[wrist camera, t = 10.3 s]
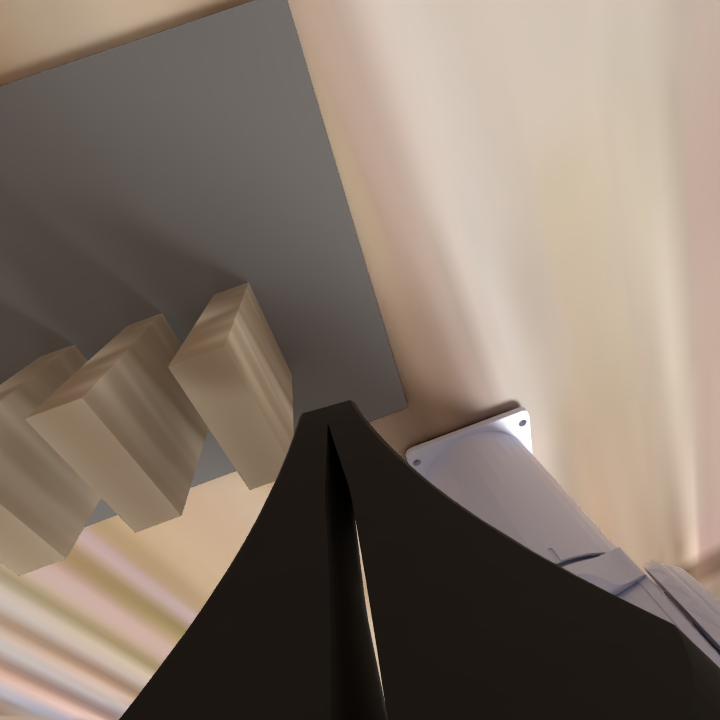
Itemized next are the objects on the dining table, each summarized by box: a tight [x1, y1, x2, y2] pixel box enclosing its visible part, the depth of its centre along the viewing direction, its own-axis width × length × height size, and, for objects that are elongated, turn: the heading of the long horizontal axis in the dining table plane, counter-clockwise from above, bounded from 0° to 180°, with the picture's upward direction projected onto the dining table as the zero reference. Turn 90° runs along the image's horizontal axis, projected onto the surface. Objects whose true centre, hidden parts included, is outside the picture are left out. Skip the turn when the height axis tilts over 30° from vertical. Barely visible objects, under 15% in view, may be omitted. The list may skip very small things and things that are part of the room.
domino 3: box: [168, 282, 294, 490], centre depth 14 cm, size 2×5×7 cm, turn 16°
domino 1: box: [0, 345, 101, 576], centre depth 14 cm, size 2×5×7 cm, turn 16°
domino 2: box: [25, 313, 209, 533], centre depth 14 cm, size 2×5×7 cm, turn 16°
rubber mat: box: [0, 0, 408, 527], centre depth 16 cm, size 18×28×1 cm, turn 106°
